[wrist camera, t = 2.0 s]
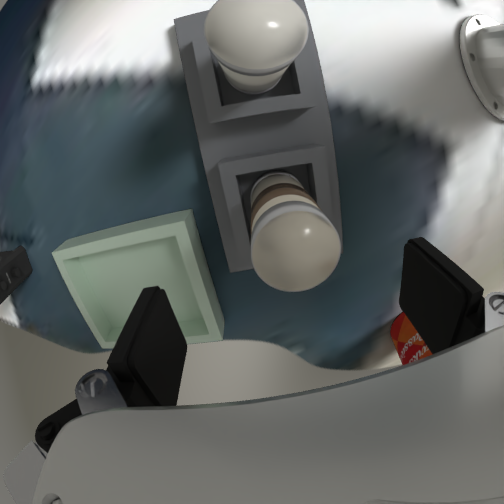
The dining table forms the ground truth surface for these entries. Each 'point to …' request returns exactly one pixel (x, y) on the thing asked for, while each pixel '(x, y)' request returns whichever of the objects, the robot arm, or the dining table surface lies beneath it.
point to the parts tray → (142, 275)
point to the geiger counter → (13, 270)
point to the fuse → (255, 40)
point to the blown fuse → (290, 234)
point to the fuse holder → (258, 135)
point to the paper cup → (408, 340)
